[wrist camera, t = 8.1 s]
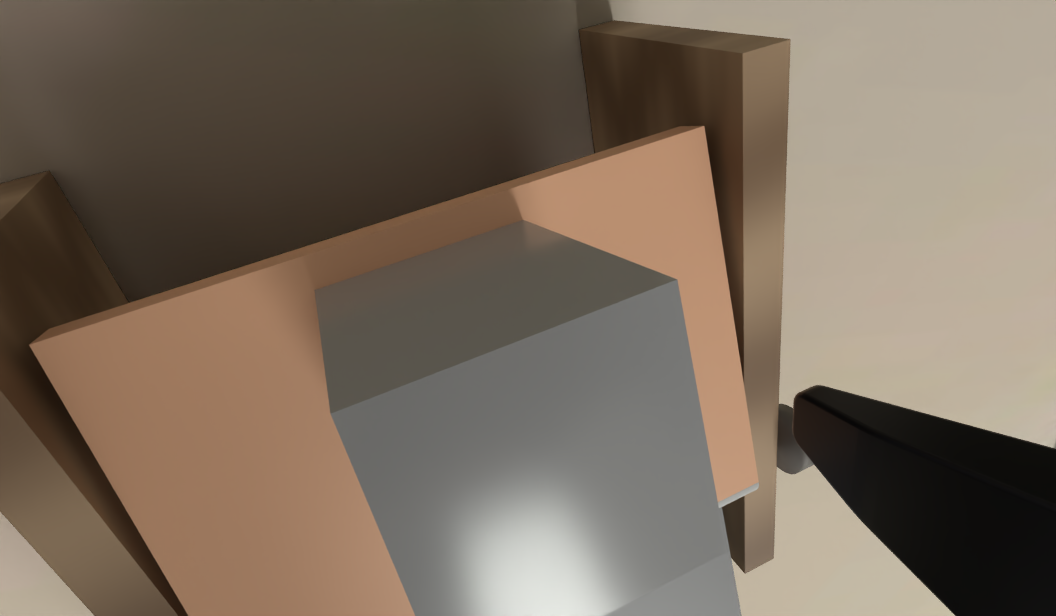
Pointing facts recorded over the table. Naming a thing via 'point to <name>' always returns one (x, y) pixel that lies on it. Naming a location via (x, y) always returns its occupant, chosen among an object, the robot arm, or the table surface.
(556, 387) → the stone
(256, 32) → the table surface
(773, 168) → the trapdoor frame
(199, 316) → the trapdoor
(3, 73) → the table surface
